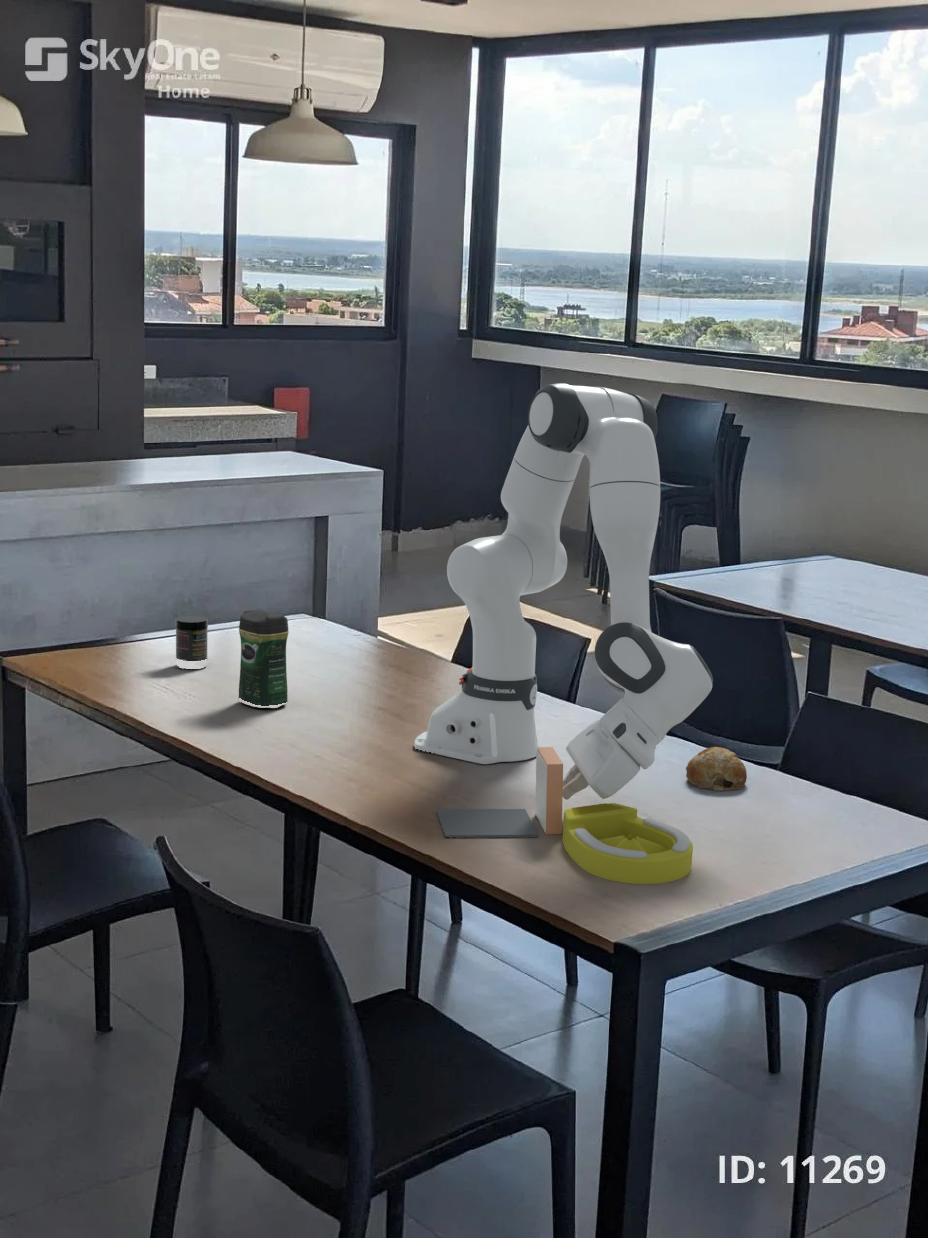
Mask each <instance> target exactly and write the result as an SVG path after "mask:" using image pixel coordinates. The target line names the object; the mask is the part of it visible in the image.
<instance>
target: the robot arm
mask: <svg viewBox="0 0 928 1238" xmlns="http://www.w3.org/2000/svg"><path fill="white" fill-rule="evenodd" d="M657 432H658V416H657V411H656V409H655V407H654V405H653V404H652V403H651V402H650V400H648V399H647V398H644V397H642V396H640V395H637V394H635V393H633V392H628V393H626V392H623V391H619V390H617V389H612V388H608V387H603V386H586V385H570V384H568V383H562V382H561V383H551V384H547V385H544V386H542V387H540V389H538V390H537V392H536V393H535V394H534V396H533V398H532V400H531V402H530V404H529V408H528V412H527V426H526V428H525V431H524V433H523V434H522V437H521V438H520V441H519V442H518V446H517V448H516V450H515V453H514V456H513V458H512V462H511V465H510V467H509V470H508V472H507V475H506V477H505V480H504V482H503V483H504V484H503V486H502V489H501V492H500V501H501V504H502V506H503V508H504V510H505V511H506V512H507V513H508V519H507V525H506V528H505V530H504V531H503V532H502V533H501V534H500V535H492V536H485V537H479V538H475V539H473V540H472V539H471V540H470V541H467V542H466V543H463V544H462V545H460V546H458V547H456V548H455V549H454V550H453V551H452V552H451V554H450V555H449V558H448V559H447V565H446V575H447V580H448V583H449V585H450V588H451V589H452V590H453V592H454V593H455V594H456V595H457V596H458V597H459V598H460V599H461V600H462V601H463V603H464V605H465V606H466V610H467V612H468V615H469V619H470V623H471V624H470V625H471V628H472V629H471V630H472V667H471V668H469V669H468V670H466V673H463V674H462V675H461V677H460V678H458V680H459V682H458V685H459V686H460V685H461V691H459V692H458V693H456V694H455V695H453V696H452V697H450V698H449V699H447V700H446V701H445V702H443V703H441V704H440V705H439V706H438V707H437V708H435V709H434V711H433V712H431V713H432V714H431V715H430V718H429V721H428V725H427V730H426V731H424V732H422V733H420V734H419V735H417V737H416V738H415V739H414V741H413V748H414V747H415V748H416V749H419V750H418V751H420V750H422V751H421V752H425V751H426V752H425V753H429V752H431V754H434V753H435V754H434V755H438V756H445V757H448V758H452V759H458V760H462V761H466V762H471V763H475V764H481V765H490V764H495V763H496V764H497V763H502V762H503V763H504V762H506V763H507V762H519V761H526V760H530V759H533V758H535V757H536V751H537V747H540V745H539V741H538V736H537V729H536V722H535V721H536V718H535V706H536V703H537V696H538V695H537V694H538V683H537V681H538V679H537V677H538V676H537V674H536V673H535V672H536V651H537V650H536V648H537V634H536V631H535V629H534V627H533V626H532V625H531V624H530V623H528V621H526V620H525V619H524V617H523V613H522V609H521V604H520V602H521V601H520V599H521V598H520V597H521V596H525V595H530V594H535V593H540V592H543V591H545V590H547V589H549V588H551V587H552V586H555V585H556V584H558V583H560V582H561V580H562V579H563V578H564V576H565V575H566V571H567V568H568V556H567V551H566V549H565V546H564V544H563V543H562V541H561V538H560V537H561V535H560V534H561V533H560V531H561V522H562V517H563V514H564V511H565V508H566V506H567V504H568V503H567V502H568V499H569V497H570V494H571V491H572V488H573V486H574V483H575V481H576V477H577V475H578V472H579V470H580V466H581V463H582V460H583V458H584V456H586V458H587V460H588V462H589V463H588V464H589V477H588V478H589V484H588V485H589V486H588V487H589V492H588V493H589V496H588V497H589V507H590V514H591V515H590V516H591V520H592V526H593V529H594V533H595V537H596V539H597V540H598V541H597V542H598V544H599V546H600V548H601V550H602V553H603V555H604V559H605V562H606V565H607V569H608V575H609V576H608V577H609V598H610V600H609V603H610V626H608V627H606V628H605V629H603V631H602V632H601V633H600V634H599V636H598V638H597V640H596V643H595V646H594V659H595V663H596V666H597V669H598V670H599V672H600V673H601V674H602V677H603V678H604V681H605V682H606V683H607V684H608V686H610V687H612V688H613V689H614V690H616V691H617V692H620V693H625V694H624V696H622V698H621V699H619V700H618V701H617V703H615V704H614V705H613V706H612V707H611V708H610V709H609V710H607V711H606V713H605V714H603V715H602V716H601V717H600V718H599V719H598V720H596V721H593V722H592V723H591V724H589V725H588V726H587V727H586V728H585V729H583V730H582V731H580V732H579V733H578V734H577V735H576V736H575V737H573V738H572V739H571V740H570V741H569V743H568V744H567V746H566V747H565V750H566V752H567V754H568V755H569V756H570V758H571V760H572V761H573V763H574V765H573V766H571V768H569V770H568V772H567V773H566V775H565V776H564V777H563V799H565V800H569V799H571V797H572V796H574V795H575V794H576V793H580V792H581V791H583V790H585V789H586V788H588V787H590V788H591V789H592V790H593V791H594V792H595V793H596V795H598V797H600V798H601V800H604V799H608V798H610V797H612V796H614V795H615V794H617V793H618V792H619V791H620V790H621V789H623V788H624V787H625V786H626V785H627V784H628V783H629V782H631V780H633V779H634V778H635V777H636V776H637V775H638V774H639V772H640V770H641V768H642V769H643V770H647V769H648V768H650V767H651V766H652V765H653V764H654V762H655V754H656V753H655V752H656V749H657V745H658V744H660V743H661V742H662V741H663V740H664V739H665V737H666V735H667V733H668V732H669V731H670V730H671V729H672V728H673V727H675V726H676V725H678V724H680V723H683V721H685V720H686V719H687V718H688V717H689V716H690V715H691V714H692V713H693V712H694V711H695V710H696V709H697V708H698V707H699V706H700V705H701V704H702V703H703V701H705V699H706V698H707V697H708V696H709V694H710V693H711V691H712V688H713V683H714V679H713V675H712V672H711V670H710V668H709V666H708V665H707V663H706V662H705V661H704V659H703V657H702V656H701V654H700V653H699V652H698V650H697V649H696V648H695V647H694V646H692V645H691V644H689V643H688V644H686V643H680V642H676V641H672V640H669V639H666V638H664V637H662V636H659V635H658V634H655V633H654V632H653V629H652V625H651V607H650V606H651V605H650V601H651V600H650V566H651V561H652V560H651V559H652V554H653V549H654V543H655V540H656V534H657V530H658V524H659V519H660V518H659V517H660V508H661V474H660V473H661V472H660V464H659V463H660V461H659V457H658V456H659V455H658V451H657V446H656V436H657ZM415 748H414V749H415ZM416 749H415V750H416Z"/></svg>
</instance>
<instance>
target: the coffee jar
mask: <svg viewBox="0 0 928 1238" xmlns="http://www.w3.org/2000/svg"><path fill="white" fill-rule="evenodd" d="M288 622H289V620H288V617H286V616H285V615H284V614H279V613H275V612H272V611H268V610H263V609H259V608H258V609H250V610H244V611H243V613H242V614H241V615H240V619H239V624H238V631H239V638H240V668H239V682H238V683H239V684H238V699H239V698H241V699H242V700H244V701H247V702H250V703H252V704H255V705H261V706H269V705H278V704H282V703H286V702H287V703H288V701H289V700H288V698H289V697H288V678H287V677H288V676H287V675H288V674H287V672H288V671H287V641H288V637H289V623H288Z"/></svg>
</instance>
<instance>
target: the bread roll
mask: <svg viewBox="0 0 928 1238" xmlns="http://www.w3.org/2000/svg"><path fill="white" fill-rule="evenodd" d="M685 769H686V770H685V771H686V773H685V775H686V778H687V780H688V781H689V783H690V784H691V785H694V786H696V787H698V788H701V789H704V790H710V791H711V790H712V791H715V792H721V791H722V792H723V791H724V792H725V791H732V790H733V791H734V790H740V789H742V788H743V787H744V786H745V785H746V782H747V780H748V779H747V777H748V776H747V775H748V774H747V768H746V765H745V764H744V762H743V761H742V760H741V759H740V757H738V755H737V753H735V752H733V751H731V750H730V749H727V748H725V747H720V746H711V747H708V748H706V749H703V750H701V751H700V752H698V753H697V754H696V755H694V756H693V757H692V758H691V759H689V761H688V762H687V765H686V767H685Z"/></svg>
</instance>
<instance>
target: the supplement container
mask: <svg viewBox="0 0 928 1238" xmlns="http://www.w3.org/2000/svg"><path fill="white" fill-rule="evenodd" d="M208 621H209V620H208V618H207V617H205V616H198V615H183V616H179V617H176V618H175V659H176V658H177V659H179V660H183V661H201V660H205V659H207V660H208V626H209V625H208V624H209V622H208Z"/></svg>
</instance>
